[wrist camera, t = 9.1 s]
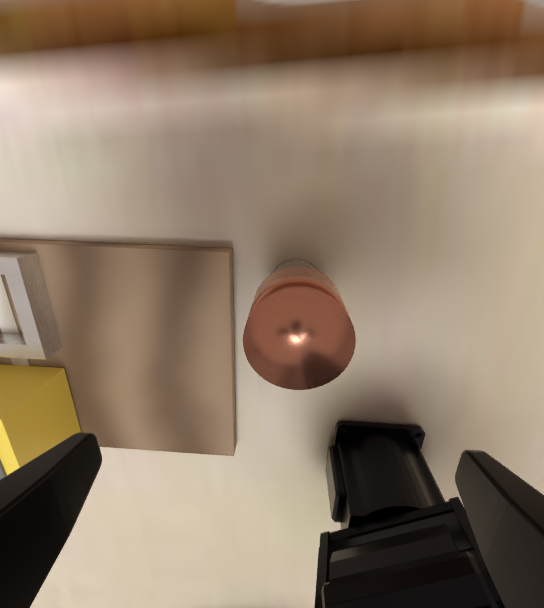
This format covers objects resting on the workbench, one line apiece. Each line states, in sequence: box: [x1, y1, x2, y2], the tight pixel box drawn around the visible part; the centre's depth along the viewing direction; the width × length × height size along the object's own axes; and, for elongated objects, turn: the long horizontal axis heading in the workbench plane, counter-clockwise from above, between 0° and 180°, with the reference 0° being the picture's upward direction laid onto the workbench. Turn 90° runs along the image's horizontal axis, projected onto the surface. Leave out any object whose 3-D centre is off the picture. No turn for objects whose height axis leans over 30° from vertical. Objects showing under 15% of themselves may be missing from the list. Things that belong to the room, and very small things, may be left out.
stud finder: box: [0, 364, 81, 480], centre depth 20 cm, size 6×7×5 cm
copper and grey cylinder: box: [243, 259, 356, 390], centre depth 16 cm, size 4×4×8 cm
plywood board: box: [0, 239, 236, 456], centre depth 22 cm, size 20×16×1 cm
